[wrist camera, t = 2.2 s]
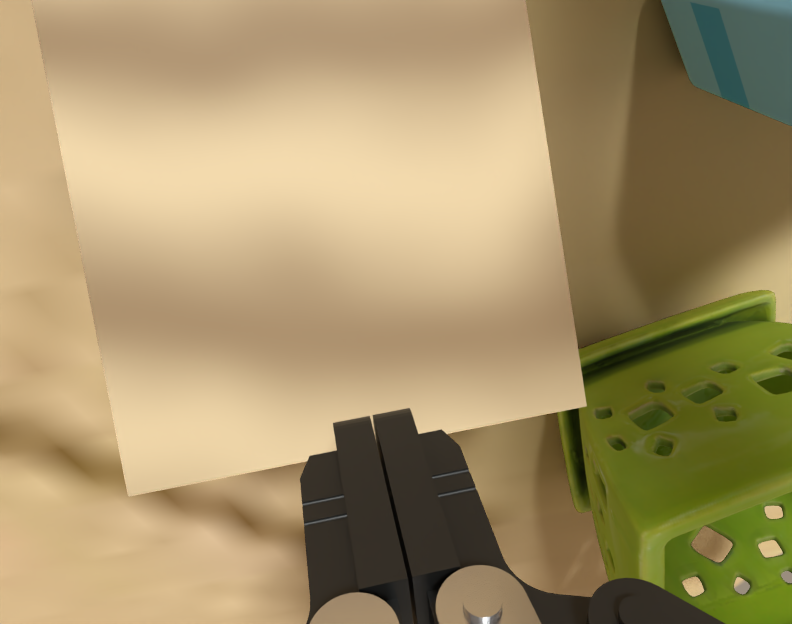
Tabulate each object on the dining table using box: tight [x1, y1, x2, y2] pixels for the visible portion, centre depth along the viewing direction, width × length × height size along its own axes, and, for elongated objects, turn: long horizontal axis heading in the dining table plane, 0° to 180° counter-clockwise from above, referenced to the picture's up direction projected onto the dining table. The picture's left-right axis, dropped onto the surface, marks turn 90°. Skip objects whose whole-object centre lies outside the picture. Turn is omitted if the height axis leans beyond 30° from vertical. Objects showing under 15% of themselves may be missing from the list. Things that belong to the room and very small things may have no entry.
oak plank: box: [31, 0, 587, 497], centre depth 17 cm, size 22×12×2 cm, turn 5°
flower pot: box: [557, 290, 792, 624], centre depth 32 cm, size 14×14×13 cm
